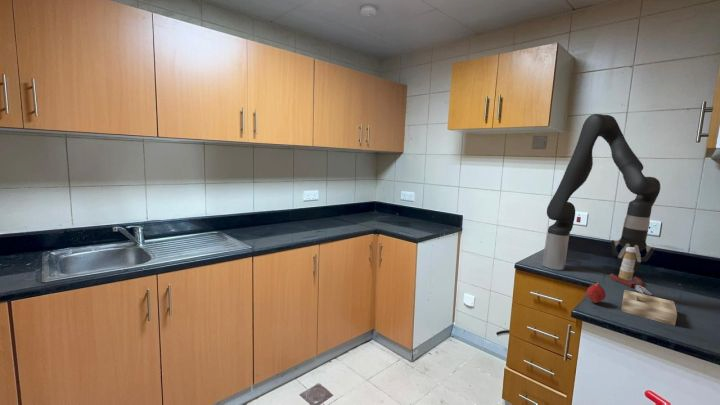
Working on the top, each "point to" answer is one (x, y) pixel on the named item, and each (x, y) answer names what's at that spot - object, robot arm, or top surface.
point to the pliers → (631, 283)
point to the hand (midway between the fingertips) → (627, 268)
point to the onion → (596, 293)
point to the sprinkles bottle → (628, 264)
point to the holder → (649, 307)
